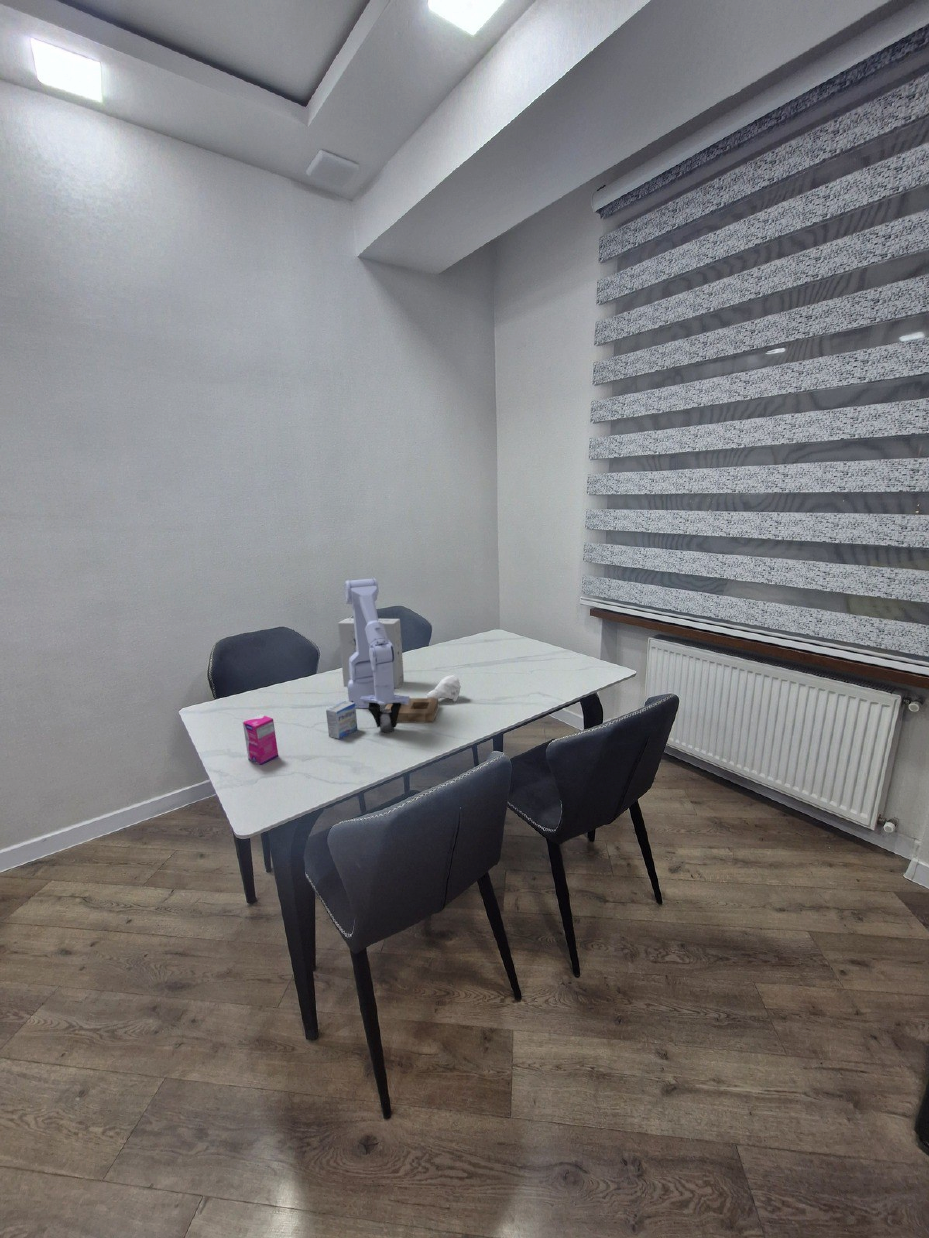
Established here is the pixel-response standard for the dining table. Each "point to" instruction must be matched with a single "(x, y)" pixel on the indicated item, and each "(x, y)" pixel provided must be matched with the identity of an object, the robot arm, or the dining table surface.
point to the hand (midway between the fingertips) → (386, 725)
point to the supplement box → (260, 739)
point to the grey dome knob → (386, 721)
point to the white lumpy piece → (446, 689)
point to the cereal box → (349, 647)
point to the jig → (417, 710)
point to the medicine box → (341, 719)
